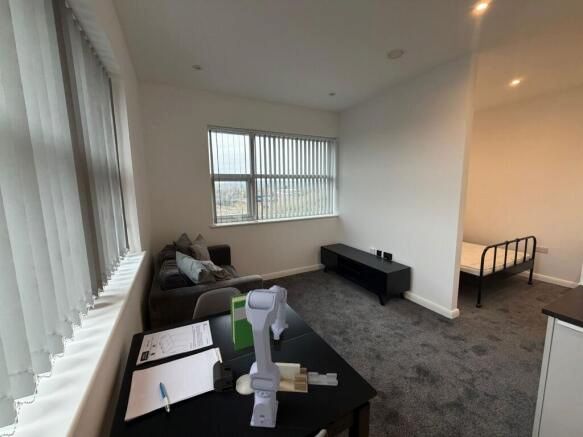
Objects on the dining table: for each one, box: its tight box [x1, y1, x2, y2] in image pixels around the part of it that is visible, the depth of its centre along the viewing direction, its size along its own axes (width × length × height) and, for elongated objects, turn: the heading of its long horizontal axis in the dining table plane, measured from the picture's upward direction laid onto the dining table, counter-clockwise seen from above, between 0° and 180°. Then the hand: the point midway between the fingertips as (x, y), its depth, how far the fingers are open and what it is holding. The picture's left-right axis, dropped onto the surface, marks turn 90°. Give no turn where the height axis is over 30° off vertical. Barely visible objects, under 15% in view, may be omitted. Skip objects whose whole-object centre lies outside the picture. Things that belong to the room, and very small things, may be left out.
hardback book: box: [230, 292, 271, 352], centre depth 121 cm, size 18×7×24 cm, turn 116°
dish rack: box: [277, 367, 308, 393], centre depth 96 cm, size 9×16×4 cm, turn 86°
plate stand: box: [307, 371, 339, 386], centre depth 98 cm, size 5×12×2 cm, turn 86°
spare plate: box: [235, 373, 254, 395], centre depth 96 cm, size 9×9×1 cm
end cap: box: [212, 359, 234, 394], centre depth 96 cm, size 10×7×7 cm
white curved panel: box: [274, 362, 301, 379], centre depth 98 cm, size 2×10×6 cm, turn 86°
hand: (278, 344), depth 105 cm, fingers open, 7 cm apart
